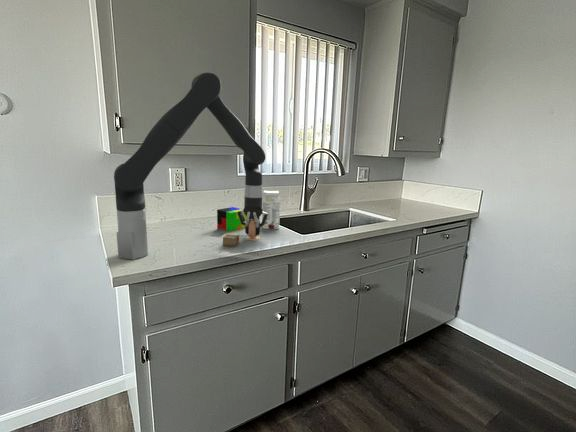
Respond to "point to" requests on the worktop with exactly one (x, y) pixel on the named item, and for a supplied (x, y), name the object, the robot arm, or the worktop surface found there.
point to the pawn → (252, 229)
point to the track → (218, 234)
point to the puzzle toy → (229, 219)
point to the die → (230, 240)
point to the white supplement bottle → (271, 209)
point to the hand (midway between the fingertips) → (252, 234)
